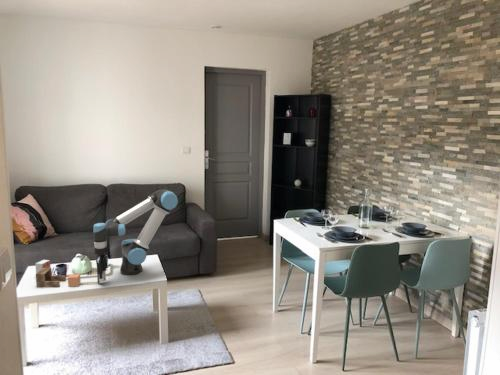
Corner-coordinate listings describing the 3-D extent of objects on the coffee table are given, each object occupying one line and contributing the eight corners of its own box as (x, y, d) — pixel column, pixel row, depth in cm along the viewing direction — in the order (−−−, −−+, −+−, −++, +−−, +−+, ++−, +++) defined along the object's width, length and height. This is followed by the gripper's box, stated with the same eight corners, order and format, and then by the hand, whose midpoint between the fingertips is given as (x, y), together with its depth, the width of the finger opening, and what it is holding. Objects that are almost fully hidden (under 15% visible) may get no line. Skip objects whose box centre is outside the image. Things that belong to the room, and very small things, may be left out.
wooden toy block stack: (66, 280, 275) (65, 267, 274) (58, 287, 265) (57, 274, 263) (44, 280, 275) (43, 267, 274) (36, 287, 264) (35, 274, 263)
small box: (43, 278, 278) (42, 263, 276) (36, 278, 279) (34, 263, 277) (51, 274, 286) (50, 260, 284) (44, 273, 287) (43, 259, 285)
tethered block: (103, 281, 274) (103, 267, 272) (101, 285, 268) (101, 270, 266) (71, 283, 271) (70, 268, 269) (68, 286, 265) (67, 271, 263)
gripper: (99, 243, 274) (101, 277, 278) (90, 251, 258) (92, 286, 262) (110, 243, 275) (112, 277, 279) (102, 251, 259) (104, 286, 263)
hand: (102, 281), depth 270 cm, fingers closed on tethered block, 3 cm apart
